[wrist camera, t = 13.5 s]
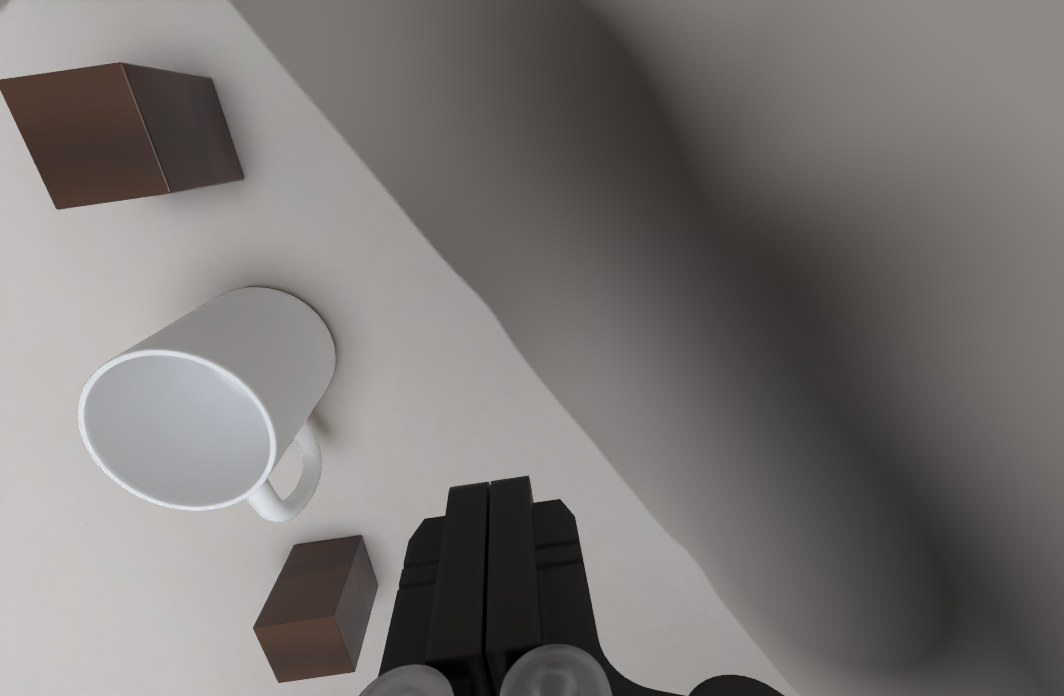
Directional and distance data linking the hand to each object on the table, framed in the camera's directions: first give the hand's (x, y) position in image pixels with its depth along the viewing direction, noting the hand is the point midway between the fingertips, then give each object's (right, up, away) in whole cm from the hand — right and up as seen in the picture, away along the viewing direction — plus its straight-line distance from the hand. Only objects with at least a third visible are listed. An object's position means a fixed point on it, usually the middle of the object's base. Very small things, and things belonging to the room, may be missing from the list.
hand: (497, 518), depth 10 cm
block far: (-14, -13, +29) cm, 35 cm away
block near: (-18, +14, +18) cm, 29 cm away
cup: (-15, +2, +24) cm, 28 cm away
